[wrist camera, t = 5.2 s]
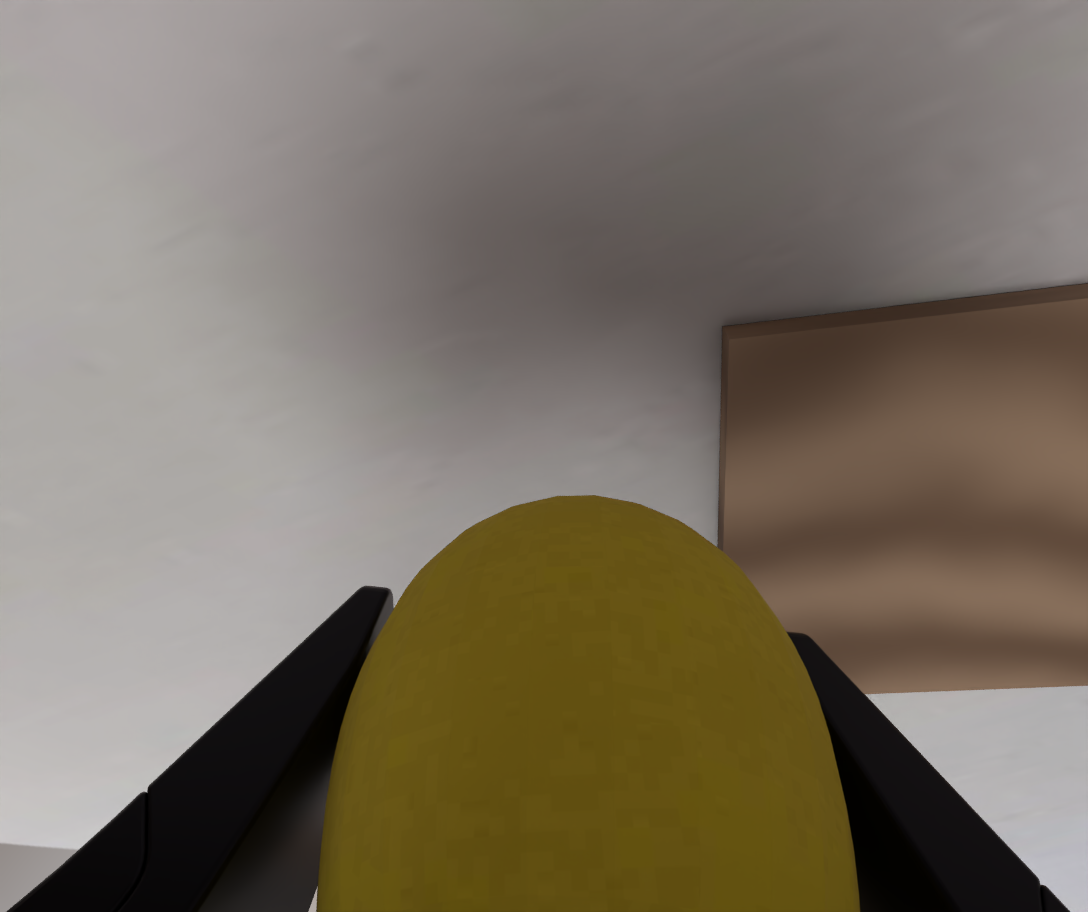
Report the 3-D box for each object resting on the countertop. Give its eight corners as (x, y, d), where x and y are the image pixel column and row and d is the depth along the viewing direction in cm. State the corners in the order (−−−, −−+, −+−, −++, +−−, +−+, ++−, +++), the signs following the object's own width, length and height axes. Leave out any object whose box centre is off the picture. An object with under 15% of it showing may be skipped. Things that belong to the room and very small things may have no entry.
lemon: (362, 531, 10) (-12, 1333, 4) (582, 318, 8) (588, 1490, 1) (580, 672, 12) (580, 1368, 6) (810, 534, 10) (1261, 1461, 3)
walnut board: (1134, 662, 26) (1152, 683, 25) (714, 680, 28) (718, 699, 27) (1406, 245, 16) (1451, 256, 15) (722, 326, 18) (728, 339, 17)
